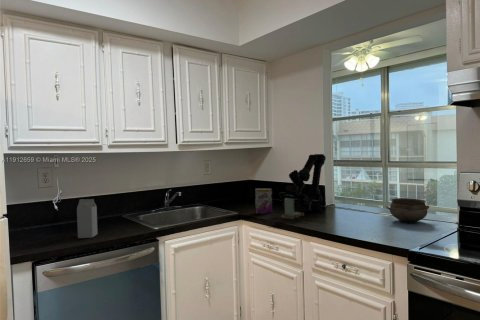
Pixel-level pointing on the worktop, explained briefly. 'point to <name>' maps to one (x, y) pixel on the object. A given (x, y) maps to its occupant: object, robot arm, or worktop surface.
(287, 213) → the panel
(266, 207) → the candy bar box
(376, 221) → the worktop surface
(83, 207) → the milk carton
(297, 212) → the rack
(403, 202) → the cooking pot
